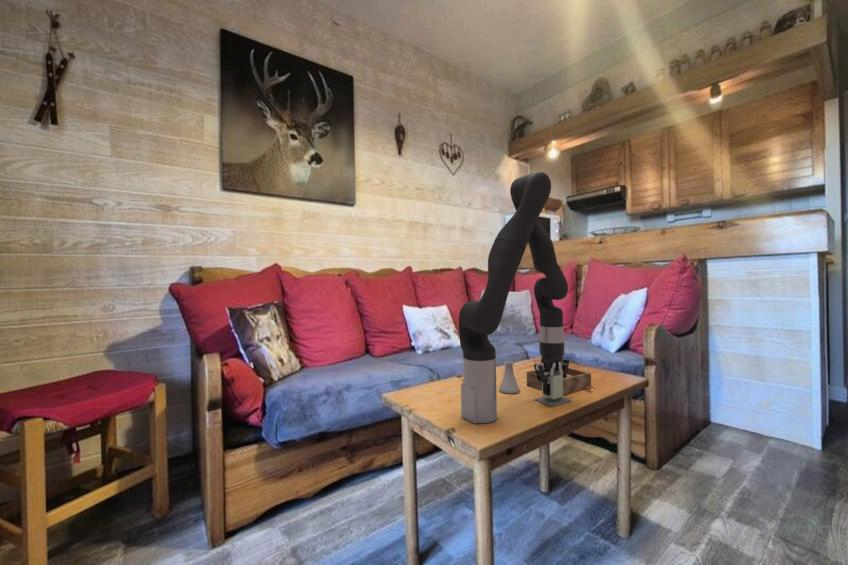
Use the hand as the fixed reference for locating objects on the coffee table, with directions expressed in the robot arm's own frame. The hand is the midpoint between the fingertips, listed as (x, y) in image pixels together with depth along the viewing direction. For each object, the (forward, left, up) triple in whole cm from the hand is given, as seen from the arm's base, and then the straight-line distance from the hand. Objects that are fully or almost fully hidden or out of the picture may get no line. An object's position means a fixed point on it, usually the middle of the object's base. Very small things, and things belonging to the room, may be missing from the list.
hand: (552, 393), depth 114 cm
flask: (-4, +15, -3) cm, 16 cm away
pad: (0, 0, -2) cm, 2 cm away
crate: (+14, +9, -2) cm, 16 cm away
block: (0, 0, -1) cm, 1 cm away
